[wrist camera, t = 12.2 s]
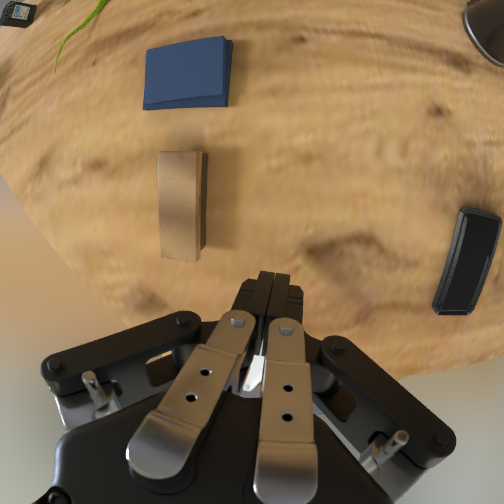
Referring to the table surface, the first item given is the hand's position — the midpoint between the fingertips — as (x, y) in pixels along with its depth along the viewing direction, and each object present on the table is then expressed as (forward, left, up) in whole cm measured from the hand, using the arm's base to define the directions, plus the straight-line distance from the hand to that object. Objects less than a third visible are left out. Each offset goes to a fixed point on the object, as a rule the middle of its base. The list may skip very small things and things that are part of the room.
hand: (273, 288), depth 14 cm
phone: (+4, +25, -18) cm, 31 cm away
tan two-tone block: (+1, -11, -18) cm, 21 cm away
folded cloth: (-14, -13, -18) cm, 26 cm away
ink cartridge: (-37, -51, -18) cm, 65 cm away
